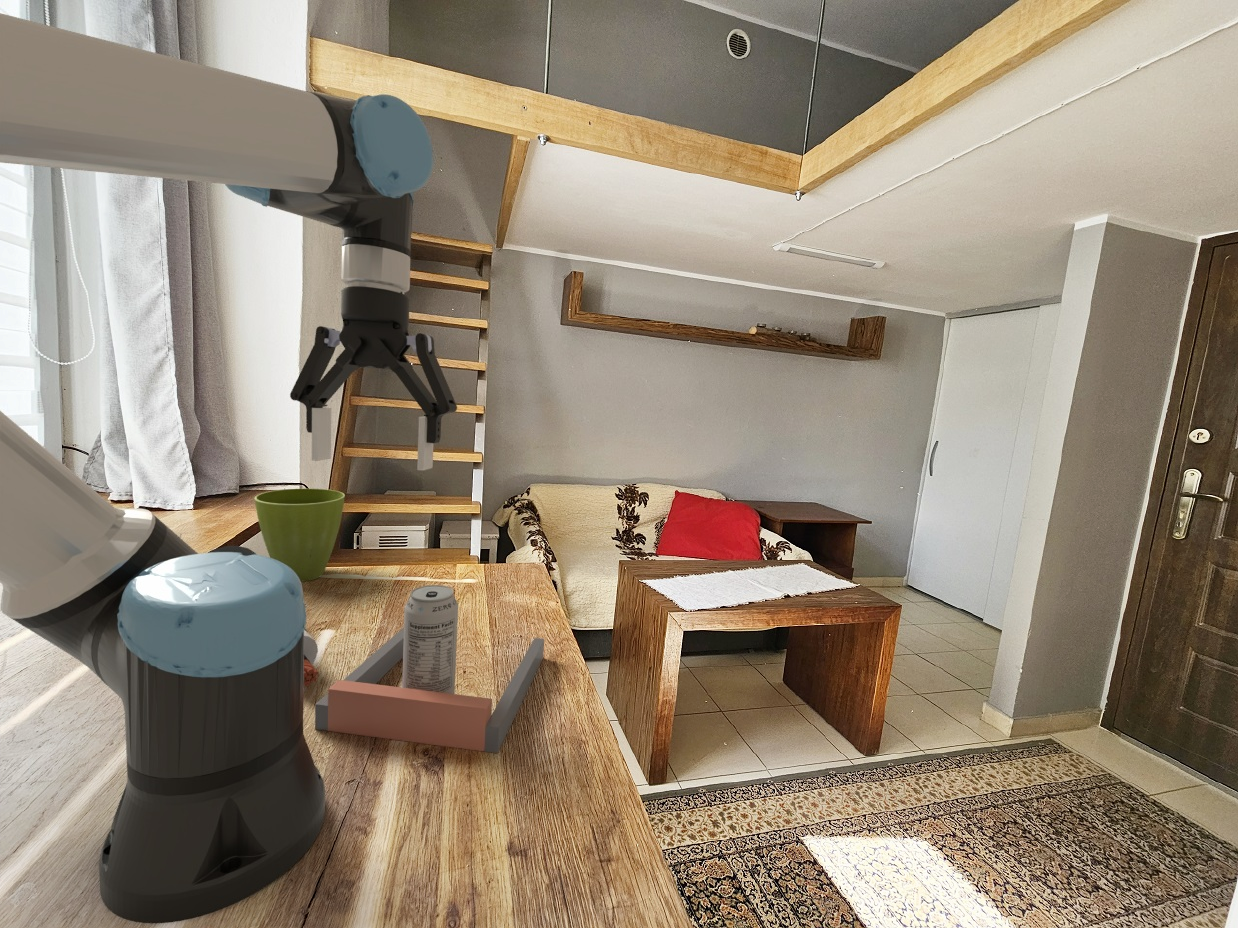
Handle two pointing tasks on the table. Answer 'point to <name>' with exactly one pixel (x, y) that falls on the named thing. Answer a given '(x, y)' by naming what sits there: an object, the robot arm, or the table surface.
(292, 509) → the flower pot
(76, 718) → the table surface
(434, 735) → the guide lane
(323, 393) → the robot arm
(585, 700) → the table surface
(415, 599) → the energy drink can
